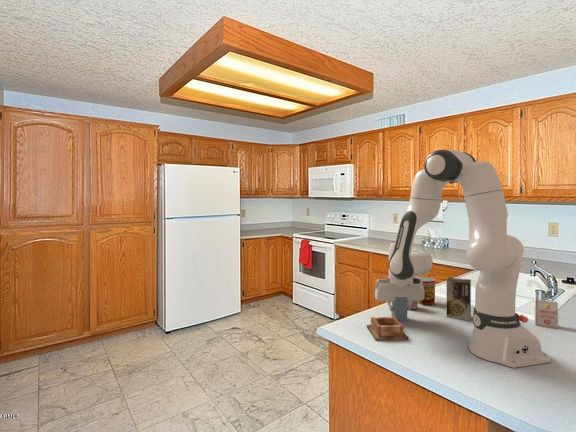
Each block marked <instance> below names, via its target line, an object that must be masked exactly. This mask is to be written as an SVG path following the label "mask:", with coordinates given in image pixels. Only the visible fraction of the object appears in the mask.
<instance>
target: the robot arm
mask: <svg viewBox="0 0 576 432" xmlns="http://www.w3.org/2000/svg"><path fill="white" fill-rule="evenodd" d="M423 168H424V169H420V170H419V171H417V172H416V173H415V175H414V178H413V181H412V184H411V185H412V186H411V190H410V196H409V201H408V206H407V209H406V211H405V213H404V214H403V215H402V218H401V221H400V223H399V226H398V227H399V228H398V232H397V236H396V240H395V241H392V242H391V243H390V245H389V248H388V278H378V279H377V280H376V281H375V282H374V288H375V291H374V298H375V300H377V301H378V302H385V303H386V304H387V306H388V310H389V312H391V311H394V310H393V309H394V307H393V306H391V301H395V297H407V298H408V304H407V312H409V311H410V310H411V309H410V307H411V305H412V303H413V301H419V300H423V299H424V297H425V293H424V287H423V285H422V283H423V280H422V279H421V278H419V277H420V276H422V275H426V274H429V273H430V272H431V271H432V269H433V267H434V266H433V265H434V262H433V258H432V256H431V255H430V253H428V252H427V251H425V250H421V249H419V248H417V247H415V246H414V240H415V236H416V233H417V232H418V231H419V229H421V228H422V227H423V226H424V225H426V224H427V223H429V222H431V221H433V220H434V219H435V218H437V216H438V215H439V212H440V210H441V203H442V197H443V196H442V195H443V190H444V187H445V186H446V185H447V184H455V183H459V185H460V186H461V188H462V193H463V198H464V203H465V207H466V211H467V212H466V213H467V217H468V227H469V228H468V230H469V231H468V232H469V233H468V246H467V249H466V253H465V254H466V255H465V256H466V261H467V262H468V264H469V265H470V266H471V267H472V268H473V269H474V270H477V271H479V277H478V279H477V281H476V283H475V300H474V301H475V302H474V308H473V312H472V313H473V314H472V315H473V317H472V318H473V319H472V320H473V331H472V335H471V338H470V343H469V345H468V349H469V351H470V352H471V353H472V354H473V355H474V356H476V357H478V358H481V359H484V360H486V361H489V362H491V363H492V362H494V363H495V364H497V363H498V364H501V365H503V366H507V367H509V368H512V369H513V368H515V369H516V368H522V367H527V366H535V365H541V364H548V363H551V362H552V361H551V357H550V356H549V354H547V353H546V352H545V351H543V350H542V346H541V342H540V340H539V338H538V337H537V336H536V335H535V334H533V333H532V332H531V331H529V330H528V329H526V328H525V327H524V326H523V325H522V324H521V322H522V323H523V324H527V323H528V322H529V317H527V316H525V315H524V314H520V315H519V313H517V312H516V297H517V295H516V294H517V285H518V281H519V276H520V271H521V266H522V265H521V264H522V259H523V257H524V256H523V255H524V253H525V252H524V251H525V248H524V245H523V243H522V242H521V241H520V239H518V238H516V237H515V236H513V235H510V234H508V230H507V228H508V227H507V226H508V225H507V223H508V216H509V212H508V208H507V205H506V200H505V194H504V191H503V188H502V184H501V181H500V178H499V177H500V176H499V175H498V173H497V170H496V168H495V167H494V165H493V164H492V163H491V162H489V161H485V160H476V158H474V156H473V154H472V155H471V154H470V153H468V152H464V151H459V150H457V149H438V150H434V151H432V152H431V153H430V154H428V155H427V157H426V158H425V160H424V164H423Z"/></svg>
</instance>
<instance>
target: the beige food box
mask: <svg viewBox="0 0 576 432" xmlns="http://www.w3.org/2000/svg"><path fill="white" fill-rule="evenodd" d="M558 307H559V303H558V301H550V300H541V299H535V305H534V325H535V326H536V327H541V328H542V327H543V328H548V329H555V330H558V329H559V325H558V324H559V308H558Z"/></svg>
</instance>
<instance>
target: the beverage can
mask: <svg viewBox="0 0 576 432" xmlns="http://www.w3.org/2000/svg"><path fill="white" fill-rule="evenodd" d="M407 304H408V302H407ZM418 306H419V304H418V301H413V303H412V305H411V307H410V310H415V309H418Z"/></svg>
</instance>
